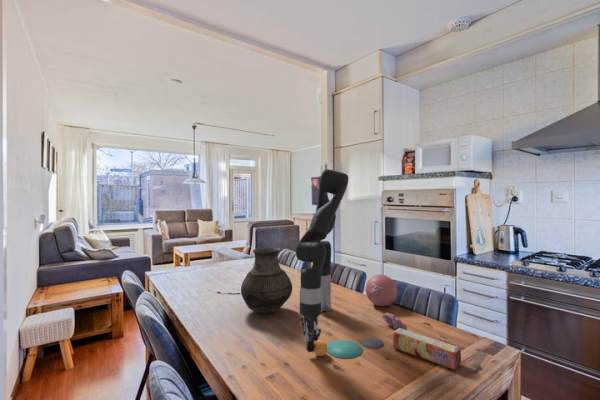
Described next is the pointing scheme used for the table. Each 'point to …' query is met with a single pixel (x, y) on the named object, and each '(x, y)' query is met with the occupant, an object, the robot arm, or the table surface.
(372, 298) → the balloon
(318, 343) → the ball
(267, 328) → the table surface
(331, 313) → the table surface
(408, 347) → the snack package
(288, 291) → the vase
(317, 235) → the robot arm
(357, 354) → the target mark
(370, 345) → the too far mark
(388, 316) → the video game controller
